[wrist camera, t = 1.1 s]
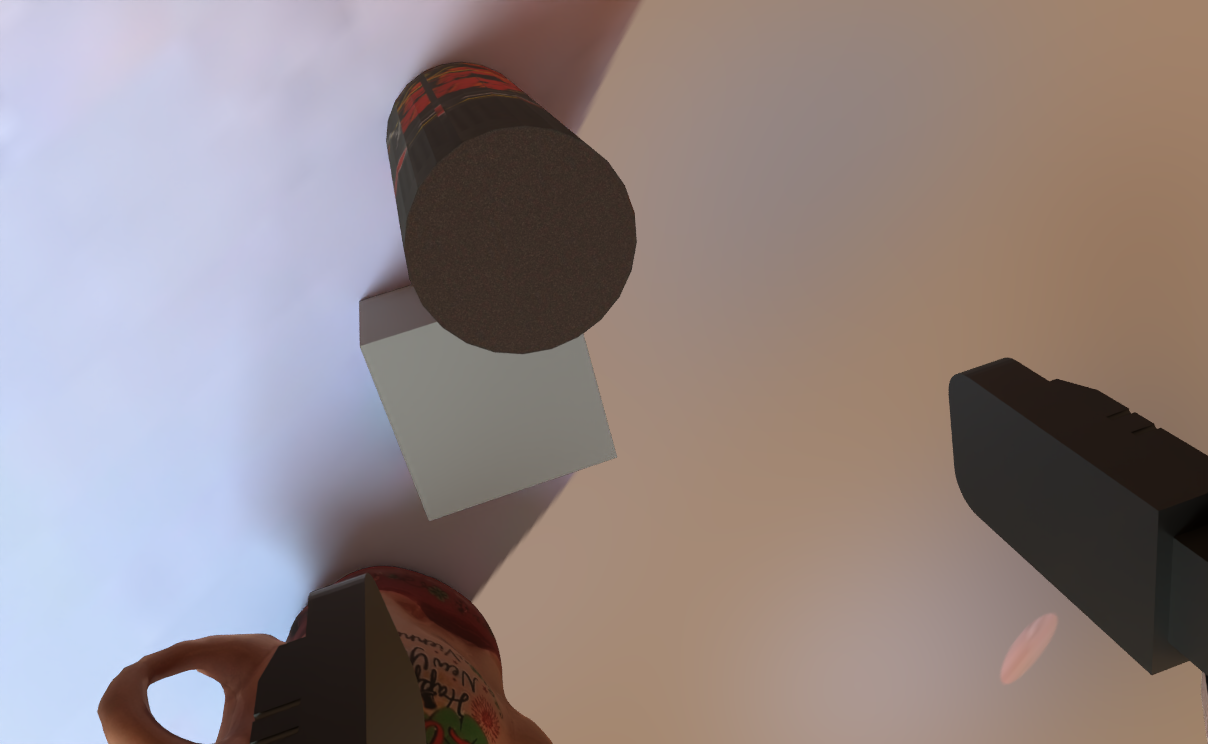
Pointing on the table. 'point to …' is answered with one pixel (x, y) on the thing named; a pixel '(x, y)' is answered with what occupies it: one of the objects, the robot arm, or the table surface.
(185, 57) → the table surface
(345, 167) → the table surface
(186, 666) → the decorated ceramic mug
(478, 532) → the table surface
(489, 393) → the grey block
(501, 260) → the deodorant
